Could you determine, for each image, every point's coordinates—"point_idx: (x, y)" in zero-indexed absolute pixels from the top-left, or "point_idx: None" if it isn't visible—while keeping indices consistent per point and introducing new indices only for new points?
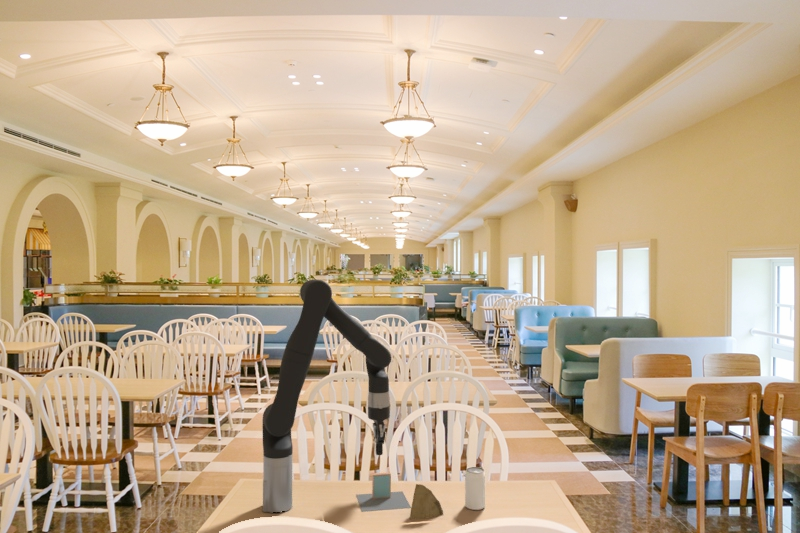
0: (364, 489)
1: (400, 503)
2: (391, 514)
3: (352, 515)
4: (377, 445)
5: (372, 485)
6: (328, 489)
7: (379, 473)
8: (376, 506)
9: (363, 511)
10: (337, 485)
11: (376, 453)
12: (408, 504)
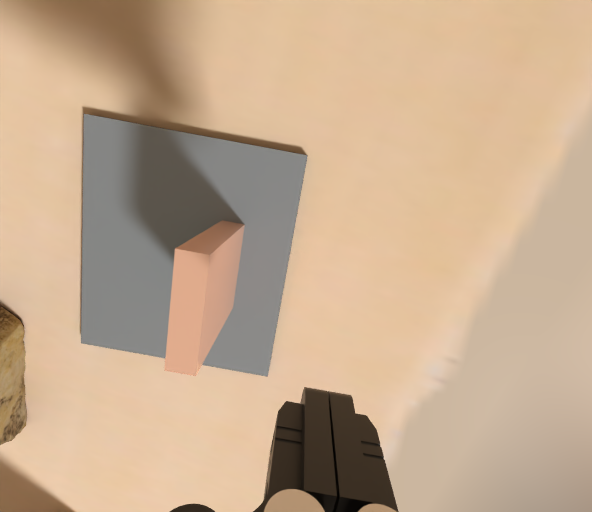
0: (382, 227)
1: (136, 320)
2: (54, 246)
3: (77, 61)
4: (289, 491)
5: (221, 235)
6: (473, 25)
7: (193, 303)
8: (129, 206)
9: (84, 124)
10: (507, 99)
11: (305, 395)
12: (117, 346)
